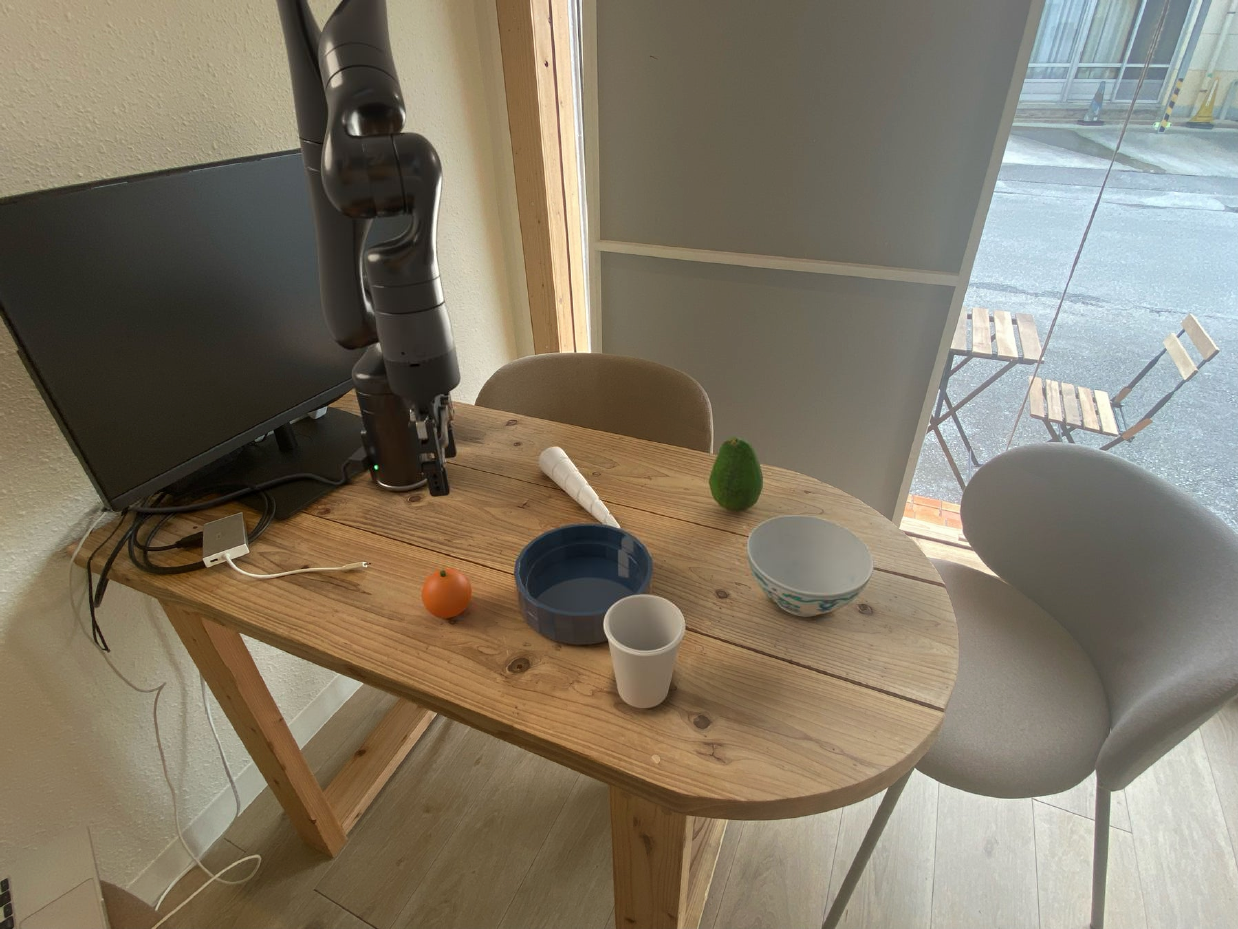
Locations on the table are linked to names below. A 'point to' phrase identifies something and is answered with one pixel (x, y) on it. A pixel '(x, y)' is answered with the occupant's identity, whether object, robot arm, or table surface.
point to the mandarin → (446, 593)
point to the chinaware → (808, 563)
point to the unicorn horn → (574, 483)
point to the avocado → (736, 475)
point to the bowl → (579, 579)
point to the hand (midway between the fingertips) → (444, 474)
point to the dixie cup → (643, 647)
